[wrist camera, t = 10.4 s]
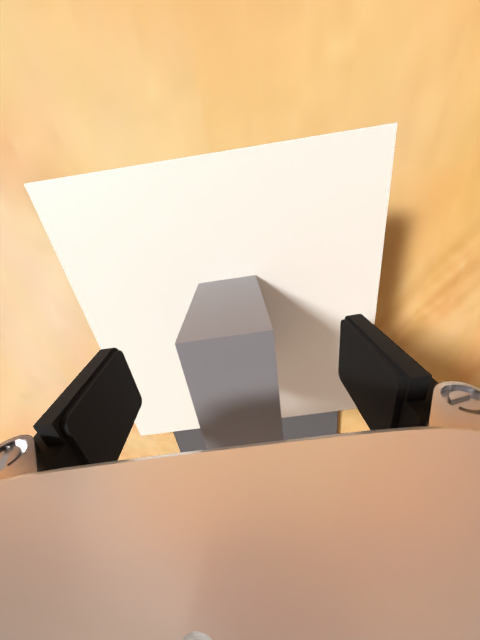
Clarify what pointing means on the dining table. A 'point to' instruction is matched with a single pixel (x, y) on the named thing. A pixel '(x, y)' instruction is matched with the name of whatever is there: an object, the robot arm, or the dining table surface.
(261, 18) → the dining table surface
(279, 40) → the dining table surface
